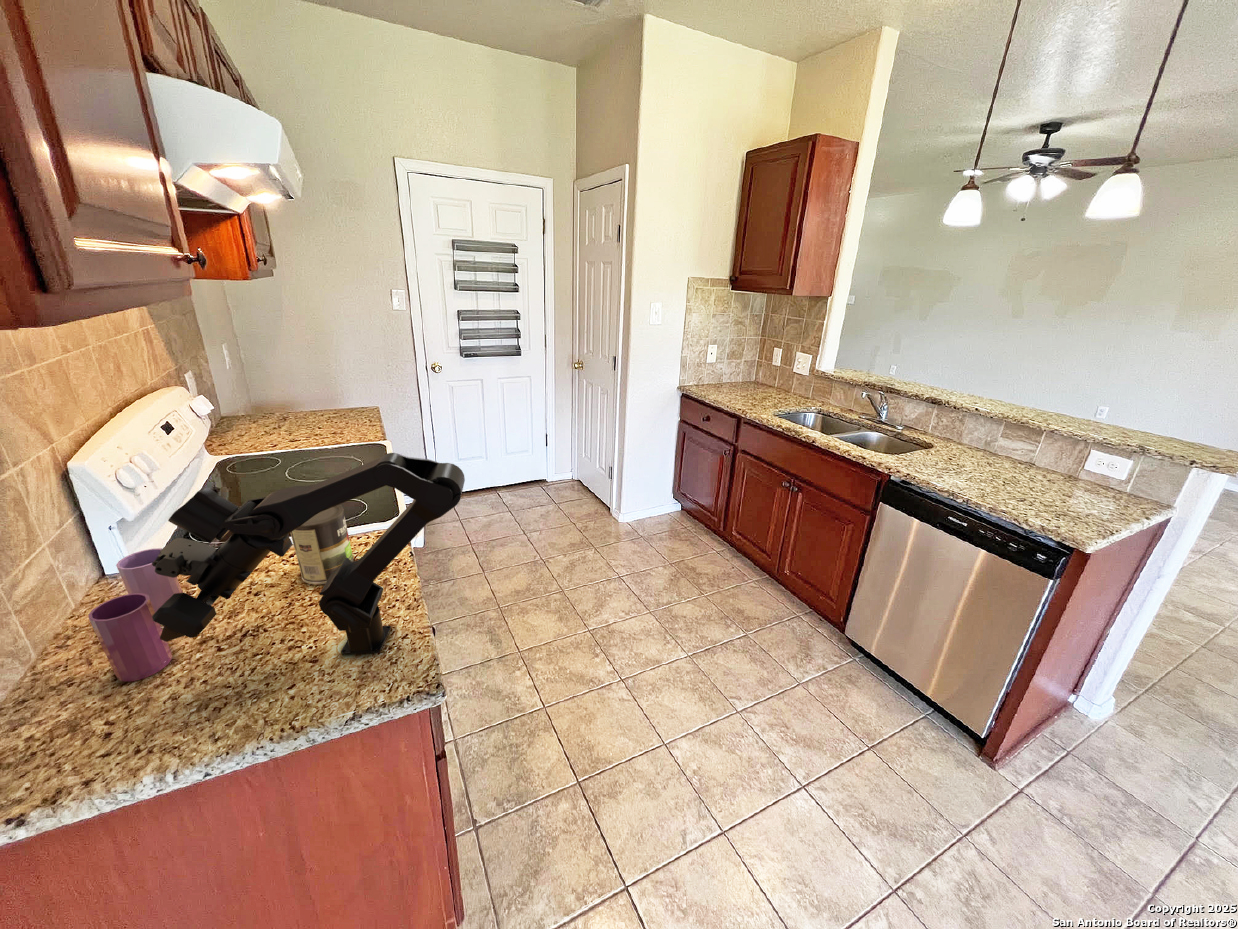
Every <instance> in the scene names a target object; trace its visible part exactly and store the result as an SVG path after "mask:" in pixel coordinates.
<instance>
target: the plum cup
mask: <svg viewBox="0 0 1238 929" xmlns="http://www.w3.org/2000/svg"><path fill="white" fill-rule="evenodd" d="M154 613H155V611H154V609H153V606H152V604H151V601H150V599H149V596H148V595H147V594H144V593H132V594H128V593H126V594H123V595H120V596H119V595H118V596H117V597H113V598H110V599H109V600H106V601H104V602H102V603H99V604H98V605H97V606H95V607H94V608H92V610H91V611H90V612H89V613H88V616H87V617H88V620H89V622H90V625H91V627H92V629H93V631H94V633H95V635H96V637H97V639H98V642H99V644H100V646H101V648H102V650H103V652H104V655H105V656H106V658H107V661H108V662H109V665H110V667H111V669H112V671H113V673H114V675H115V676H116V678H117V680H118V681H120V682H125V683H128V682H135V681H136V682H137V681H140V680H143V679H146V678H148V677H151V676H153V675H155V674H157V673H159V672H160V671H162V670H163V669H164V668H166V667H167V666H168V665H169V664H170V662H171V661H172V660H173V653H172V650H171V648H170V646H169V643H168V642H166V641H163V640H161V639H160V636H161V633H162V630H163V628H162V625H161V624H159V623H157V622H154V621H153V618H152V616H153V615H154Z"/></svg>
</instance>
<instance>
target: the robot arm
mask: <svg viewBox="0 0 1238 929" xmlns="http://www.w3.org/2000/svg"><path fill="white" fill-rule="evenodd" d="M465 481H466V479H465V474H464V472H463V470H462V469H461V467H459V466H457V465H456V464H454V463H450V462H438V461H435V460H432V459H429V458H421V457H411V456H406V455H404V454H400V453H397V452H389V453H385V454H383V455H382V456H381V457H379V458H377V459H374V460H372V461H369V462H367V463H364V464H361V465H359V466H356V467H354V468H352V469H349V470H347V471H344V472H342V473H339V474H337V475H334V476H332V477H330V478H329V477H328V478H327V479H324V480H322V481H319V482H317V483H314V484H309V485H293V486H290V487H285V488H281V489H276V490H274V491H272V492H271V493H270V494H268V495H267V496H262V497H257V498H250V499H248V500H246V501H245V502H244V503H243V504H242V505H240V506H238V505H237V504H235V503H234V502H231V501H230V500H228V499H226V498H224V497H223V496H221V495H220V494H218V493H217V492H216V491H214V490H213V489H211V488H210V487H208V486H203V487H202V488H200V489H199V490H198V491H197V492H195V493H194V495H193V496H192V497H191V498H189V499H188V500H187V501H186V502H185V503H184V504H182V506H180V507H179V508H178V509H176V510H175V511H174V512H173V513H172V514H171V515H170V517H169V518H168V520H167V521H168V523H171V524H172V525H175V526H176V527H178V528H179V529H182V530H184V531H186V532H188V533H189V534H191V535H192V536H195V537H196V538H198V539H200V540H202V541H204V542H201V541H196V540H193V539H189V538H184V537H177V538H173V539H172V540H171V541H170V542H169V543H168V544H166V545H165V546H164V547H163V548H161V550H160V554H159V555H158V556H157V559H156V560H155V561H154V562H152V565H153V566H154V567H155V572H156V573H157V574H159V575H163V576H168V577H172V578H175V577H177V578H178V577H179V576H183V577H188V578H187V579H186V581H185V582H186V583H188V584H190V585H192V586H196V585H197V588H198V589H199V590H200V591H199V593H198V595H197V597H194V596H192V595H190V594H188V593H186V592H183V593H175V594H173V595H172V596H171V597H170V598H169V599H168V600H167V601H166V602H165V603H164V604H163V605H162V606H161V607H160V608H159V609H158V610H157V611H156V612H155V613H154V615H153V616H152V618H153V621H154V622H157V623H159V624H160V626H163V628H162V633H161V636H160V639H161V640H163V641H166V642H167V643H168V642H171V641H174V640H176V639H179V638H182V637H187V638H190V639H193V638H198V637H199V635H200V634H201V633H202V632H203V631H204V630H205V629H206V628H207V626H208V625H209V624H210V623H211V621H212V620H213V619H214V618H215V617H216V616H217V611H216V608H215V607H214V606H212V605H214V603H215V602H216V601H217V600H218V599H219V598H220V597H221V598H223V599H225V600H228V599H229V598H230V597H231V596H232V595H233V594H234V592H236V590H237V589H238V588H239V587H240V586H241V584H242V583H243V582H245V581H246V580H247V579H248V577H249V576H250V575H251V574H252V573H253V572H254V571H255V570H256V569H257V567H258V566H260V564H261V563H262V561H264V559H265V558H267V557H268V555H269V554H270V553H271V552H272V553H273V554H275V555H277V556H278V557H280V558H281V557H282V558H283V557H284V556H285V555H286V554H287V553H288V551H289V550H290V549H291V547H292V546H293V541H292V538H290V534H291V533H290V532H292V531H294V530H295V529H297V528H298V527H300V526H301V525H303V524H304V523H305V522H307V521H308V520H309V519H311V518H312V517H313V516H315V515H316V514H318V513H320V512H322V511H324V510H327V509H329V508H332V507H334V506H337V505H341V504H344V503H346V502H348V501H352V500H355V499H356V498H360V497H362V496H364V495H367V494H368V493H371V492H373V491H376V490H378V489H381V488H384V487H386V486H387V487H390V488H393V489H396V490H397V491H399V492H401V494H404V495H405V496H407V497H408V498H410V499H411V500H412V502H411V503H409V505H408V506H407V507H406V508H405V509H404V511H403V512H402V513H400V515H399V516H398V517H397V518H396V519H395V520H394V521H393V523H392V524H391V525H390V526H389V527H387V529H386V530H385V531H384V533H383V534H382V535H381V536H380V537H379V538H378V539H377V540H376V541H375V542H374V543H373V545H371V546H370V548H368V549H367V551H366V552H365V553H364V554H363V555H362V556H361V557H360V558H358V559H356V560H354V562H352V561H351V560H350V559H348V558H347V557H346V558H345V560H344V562H343V563H342V565H341V566H340V567H339V568H338V569H336V570H333V572H332V573H331V575H330V577H329V579H328V580H327V582H326V584H323V587H322V588H321V590H320V592H319V595H320V596H321V597H320V599H319V602H318V606H319V608H320V610H321V612H322V613H323V614H324V615H325V616H327V617H328V619H329V620H330V621H331V622H332V623H333V625H334V626H335V627H336V629H337V630H338V631H339V632H344V631H345V635H346V638H347V639H346V642H345V643H344V646H343V647H342V648H341V651H340V654H341V655H342V656H349V655H350V656H351V655H352V656H353V655H368V654H379V653H381V652H382V650H383V647H384V645H385V644H386V641H387V639H388V637H389V635H390V633H391V631H392V626H391V625H384V624H383V621H382V615H381V608H380V606H379V602H380V601H381V599H382V596H383V593H384V587H383V586H381V585H379V584H377V583H376V582H375V580H376V579H377V578H378V577H379V576H380V575H381V574H382V573H383V572H384V571H385V570H386V568H388V566H389V565H390V564H391V563H392V562H393V561H394V560H395V559H396V558H397V556H399V555H400V553H402V551H403V550H404V549H405V548H406V547H407V546H408V545H409V544H410V543H411V541H413V539H414V538H415V537H416V536H418V534H419V533H420V532H421V531H422V530H423V529H424V528H425V527H426V526H427V525H428V524H429V523H431V522H433V521H435V520H437V519H440V518H442V517H443V516H445V515H446V514H447V513H448V512H450V511H451V510H453V509H454V508H455V507H456V506H457V505H458V504H459V503H460V501H461V499H462V494H463V490H464V485H465ZM229 532H231V533H232V534H231V535H230V536H229V538H227V540H225V542H222V543H221V544H219V546H218V547H214V546H211V545H210V544H212V542H213V541H214V540H215V539H216V540H217V541H221V540H222V539H223V538H224V537H226V536H227V534H228V533H229ZM205 542H206V543H205ZM207 543H208V544H207Z"/></svg>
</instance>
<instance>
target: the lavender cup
mask: <svg viewBox="0 0 1238 929" xmlns="http://www.w3.org/2000/svg"><path fill="white" fill-rule="evenodd" d="M161 549H162V548H161V547H160V548H156V547H155V548H148V549H143V550H140V551H137V552H133V553H131V554H129V555H126V556H124V557H122V558H121V559H119V560H118V561H117V563H116V564H115V566H116V569H117V571H118V573H119V576H120V578H121V580H122V583H123V586H124V587H125V590H126V593H127V594H132V593H144V594H147V595H148V596H149V599H150V601H151V604H152V606H153V609H154V611H155V612H156V611H157V610H158V609H159V608H160V607H161V606H162V605H163V604H164V603H165V602H166V601H167V600H168V599H169V598H170V597H171V596H172V595H173V594H175V593H184V592H183V588H182V586H181V584H180V581H179V578H178V576H177V577H175V578H172V577H168V576H163V575H159V574H157V573H156V572H155V567H154V566H153V565H152V562H154V561H155V560H156V559H157V556H158V555H159V554H160V550H161Z"/></svg>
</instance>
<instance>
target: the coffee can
mask: <svg viewBox="0 0 1238 929" xmlns="http://www.w3.org/2000/svg"><path fill="white" fill-rule="evenodd" d="M289 534H290V536H291V541H292V546H293V549H294V552H295V553H294V554H295V556H296V560H297V564H298V567H299V571H300V575H301V580H302V581H303V582H304V583H306V584H308V585H315V586H316V585H325V584H326V582H327V580H328V579H329V577H330V575H331V573H332V572H333V570H336V569H338V568H339V567H340V566H341V565H342V563H343V562H344V560H345V558H346V557H347V558H348V559H350V560H351V561H352V562H354V561H355V560H354V555H353V551H352V546H351V541H350V536H349V531H348V526H347V522H346V517H345V509H344V507H343V505H341V504H339V505H337V506H334V507H332V508H329V509H327V510H324V511H322V512H320V513H318V514H316V515H315V516H313V517H312V518H311V519H309V520H308V521H307V522H305V523H304V524H303V525H301V526H300V527H298V528H297V529H295V530H294V531H292V532H290V533H289Z"/></svg>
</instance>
